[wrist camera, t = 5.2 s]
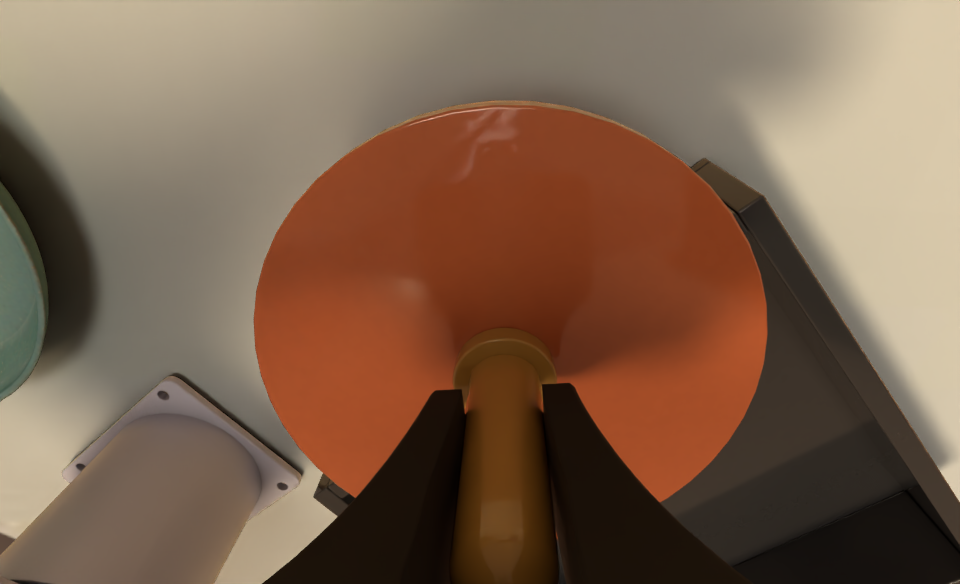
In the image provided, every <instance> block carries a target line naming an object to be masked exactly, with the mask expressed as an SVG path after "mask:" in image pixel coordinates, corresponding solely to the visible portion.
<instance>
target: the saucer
mask: <svg viewBox="0 0 960 584" xmlns="http://www.w3.org/2000/svg"><path fill="white" fill-rule="evenodd" d="M47 322H48V288H47V280H46V275H45V270H44V266H43V261H42V258H41V255H40V252H39V249H38V246H37V244H36V241H35V239H34V236H33V234H32V232H31V230H30V228H29V226H28V224H27V222H26V220H25V218H24V216H23V214H22V213H21V211H20V209H19V207H18V206H17V204H16V202H15V201H14V199H13V198H12V196H11V195H10V193H9V192H8V191H7V189H6V188H5V187H4V185H3V184H2V183H1V182H0V401H2V400H3V399H5V398H6V397H8V396H9V395H11V394H12V393H13V392H15V391H16V390H17V389H18V388H19V387H20V386H21V385H22V384H23V383H24V382H25V381H26V380H27V379H28V377H29V376H30V374H31V373H32V371H33V370H34V368H35V366H36V364H37V362H38V360H39V357H40V354H41V352H42V348H43V344H44V340H45V336H46V331H47Z"/></svg>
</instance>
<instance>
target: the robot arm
mask: <svg viewBox="0 0 960 584" xmlns="http://www.w3.org/2000/svg"><path fill="white" fill-rule="evenodd" d="M164 391H165V392H167V393H168V394H169V395H168V394H166V393H164ZM542 395H543V412H544V422H545V432H546V443H547V450H548V456H549V466H550V476H551V486H552V496H553V506H554V516H555V526H556V533H557V538H558V543H559V549H560V554H561V559H562V564H563V569H564V575H565V580H566V584H753V583H752V582H751V581H749V580H748V579H747V578H745V577H744V576H743V575H741V574H740V573H739V572H737V571H736V570H735V569H733V568H732V567H731V566H730V565H729V564H728V563H726V562H725V561H724V560H723V559H722V558H720V557H719V556H718V555H717V554H716V553H714V552H713V551H712V550H711V549H710V548H709V547H707V546H706V545H705V544H704V543H703V542H701V541H700V540H699V539H698V538H697V537H696V536H694V535H693V534H692V533H691V532H690V531H689V530H688V529H686V528H685V527H684V526H683V525H682V524H681V523H680V522H679V521H678V520H677V519H676V518H675V517H674V516H673V515H672V514H671V513H670V512H669V511H668V510H667V509H666V508H665V507H664V506H663V505H662V504H661V503H660V502H659V501H658V500H657V499H656V498H655V497H654V496H653V495H652V494H651V493H650V492H649V491H648V490H647V489H646V487H645V486H644V485H643V484H642V483H641V482H640V481H639V480H638V478H637V477H636V476H635V475H634V474H633V473H632V471H631V470H630V469H629V468H628V467H627V465H626V464H625V463H624V462H623V461H622V459H621V458H620V457H619V455H618V454H617V453H616V452H615V450H614V449H613V448H612V446H611V445H610V443H609V442H608V441H607V439H606V438H605V437H604V435H603V434H602V432H601V431H600V430H599V428H598V427H597V425H596V424H595V422H594V421H593V419H592V417H591V416H590V414H589V413H588V411H587V409H586V408H585V406H584V404H583V403H582V401H581V399H580V397H579V395H578V393H577V391H576V388H575V387H574V386H573V385H572V384H571V383H556V384H542ZM464 421H465V409H464V402H463V395H462V389H451V390H435V391H434V392H433V393H432V394H431V395H430V397H429V398H428V400H427V402H426V403H425V405H424V407H423V408H422V410H421V411H420V413H419V415H418V416H417V418H416V419H415V421H414V422H413V424H412V425H411V427H410V428H409V430H408V431H407V433H406V434H405V436H404V437H403V438H402V440H401V441H400V443H399V444H398V445H397V447H396V448H395V450H394V451H393V452H392V454H391V455H390V456H389V458H388V459H387V460H386V462H385V463H384V464H383V465H382V467H381V468H380V469H379V470H378V472H377V473H376V474H375V475H374V477H373V478H372V479H371V480H370V482H369V483H368V484H367V485H366V486H365V488H364V489H363V490H362V491H361V492H360V493H359V495H358V496H357V497H356V498H355V499H354V500H353V501H352V502H351V503H350V505H349V506H348V507H347V508H346V509H345V510H344V511H343V512H342V513H341V514H340V515H339V516H338V517H337V518H336V519H335V520H334V521H333V522H332V523H331V524H330V525H329V526H328V527H327V528H326V529H325V530H324V531H323V532H322V533H321V534H320V535H319V536H318V537H317V538H315V539H314V540H313V541H312V542H311V543H310V544H309V545H308V546H307V547H306V548H304V549H303V550H302V551H301V552H300V553H299V554H298V555H297V556H296V557H294V558H293V559H292V560H291V561H290V562H289V563H287V564H286V565H285V566H284V567H282V568H281V569H280V570H279V571H277V572H276V573H275V574H274V575H273V576H271V577H270V578H269V579H267V580H266V581H265V582H264V583H262V584H451V583H450V578H449V557H450V548H451V539H452V529H453V520H454V511H455V502H456V492H457V483H458V474H459V464H460V456H461V448H462V439H463V430H464ZM62 477H63V478H64V479H65V480H66V481H67V482H69V483H70V484H69V485H68V486H67V487H66V488H65V489H64V490H63V491H62V492H61V493H60V494H59V495H58V496H57V497H56V498H55V500H54V501H53V502H52V503H51V504H50V505H49V506H48V507H47V508H46V509H45V510H44V511H43V512H42V513H41V514H40V515H39V516H38V517H37V518H36V519H35V520H34V521H33V522H32V523H31V524H30V525H29V526H28V527H27V528H26V530H25V531H24V532H23V533H22V534H21V535H20V536H19V537H18V538H17V539H16V540H15V541H14V542H13V543H12V544H11V545H10V546H9V547H8V548H7V549H6V550H5V551H4V552H3V553H2V554H1V556H0V584H214V582H215V580H216V578H217V577H218V575H219V573H220V571H221V569H222V567H223V565H224V563H225V561H226V560H227V558H228V556H229V554H230V552H231V550H232V548H233V546H234V544H235V543H236V541H237V539H238V537H239V535H240V533H241V531H242V529H243V528H244V526H245V524H246V522H247V521H249V520H250V519H251V518H253V517H254V516H256V515H257V514H259V513H260V512H262V511H263V510H264V509H266V508H267V507H269V506H270V505H272V504H273V503H275V502H276V501H277V500H279V499H280V498H282V497H283V496H285V495H286V494H288V493H289V492H291V491H292V490H293V489H295V488H296V487H297V486H298V485H299V484H300V481H301V478H302V477H301V474H300V473H299V472H298V471H297V470H295V469H294V468H293V467H291V466H290V465H289V464H288V463H286V462H285V461H284V460H283V459H281V458H280V457H279V456H277V455H276V454H275V453H274V452H272V451H271V450H270V449H269V448H267V447H266V446H265V445H263V444H262V443H261V442H260V441H258V440H257V439H256V438H255V437H253V436H252V435H251V434H249V433H248V432H247V431H246V430H244V429H243V428H242V427H241V426H239V425H238V424H237V423H235V422H234V421H233V420H232V419H230V418H229V417H228V416H227V415H225V414H224V413H223V412H221V411H220V410H219V409H218V408H216V407H215V406H214V405H213V404H211V403H210V402H209V401H207V400H206V399H205V398H204V397H202V396H201V395H200V394H199V393H197V392H196V391H195V390H193V389H192V388H191V387H190V386H188V385H187V384H186V383H185V382H183V381H182V380H181V379H179V378H177V377H174V376H168V377H166V378H164V379H163V380H162V381H161V382H160V383H159V384H158V385H157V386H156V387H154V388H153V389H152V390H151V391H150V392H149V393H148V394H147V395H146V396H144V397H143V398H142V399H141V400H140V401H139V402H138V403H137V404H135V405H134V406H133V407H132V408H131V409H130V410H129V411H128V412H127V413H125V414H124V415H123V416H122V417H121V418H120V419H119V420H118V421H117V422H115V423H114V424H113V425H112V426H111V427H110V428H109V429H108V430H107V431H105V432H104V433H103V434H102V435H101V436H100V437H99V438H98V439H97V440H95V441H94V442H93V443H92V444H91V445H90V446H89V447H88V448H86V449H85V450H84V451H83V452H82V453H81V454H80V455H79V456H78V457H76V458H75V459H74V460H73V461H72V462H71V463H70V464H69V465H68V466H67V467H66V468H64V469H63V471H62ZM283 483H285V484H283Z"/></svg>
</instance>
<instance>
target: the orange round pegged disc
mask: <svg viewBox="0 0 960 584" xmlns="http://www.w3.org/2000/svg"><path fill="white" fill-rule="evenodd" d="M254 334H255V349H256V354H257V359H258V363H259V368H260V373H261V377H262V379H263V382H264V385H265V388H266V390H267V393H268V396H269V399H270V401H271V403H272V405H273V407H274V409H275V411H276V413H277V415H278V416H279V418H280V420H281V422H282V424H283V426H284V427H285V429H286V430H287V431H288V433H289V434H290V436H291V437H292V439H293V440H294V441H295V443H296V444H297V446H298V447H299V448H300V449H301V450H302V451H303V453H304V454H305V455H306V456H307V457H308V458H309V459H310V460H311V461H312V463H313V464H314V465H315V466H316V467H317V468H318V469H319V470H320V471H322V472H323V473H324V474H325V475H326V476H327V477H328V478H330V479H331V480H332V481H333V482H334V483H335V484H336V485H338V486H339V487H341V488H342V489H343V490H345V491H346V492H348V493H349V494H351V495H352V496H353V497H355V498H356V497H357V496H358V495H359V493H360V492H361V491H362V490H363V489H364V488H365V486H366V485H367V484H368V483H369V482H370V480H371V479H372V478H373V477H374V475H375V474H376V473H377V472H378V470H379V469H380V468H381V467H382V465H383V464H384V463H385V462H386V460H387V459H388V458H389V456H390V455H391V454H392V452H393V451H394V450H395V448H396V447H397V445H398V444H399V443H400V441H401V440H402V438H403V437H404V436H405V434H406V433H407V431H408V430H409V428H410V427H411V425H412V424H413V422H414V421H415V419H416V418H417V416H418V415H419V413H420V411H421V410H422V408H423V407H424V405H425V403H426V402H427V400H428V398H429V397H430V395H431V394H432V393H433V392H434V391H435V390H451V389H462V395H463V402H464V409H465V421H464V430H463V439H462V448H461V456H460V464H459V474H458V483H457V492H456V502H455V511H454V520H453V529H452V539H451V548H450V557H449V578H450V583H451V584H559V575H560V566H559V555H558V545H557V539H558V538H557V533H556V526H555V516H554V506H553V496H552V486H551V476H550V466H549V456H548V450H547V443H546V432H545V422H544V412H543V395H542V384H556V383H571V384H572V385H573V386H574V387H575V388H576V391H577V393H578V395H579V397H580V399H581V401H582V403H583V404H584V406H585V408H586V409H587V411H588V413H589V414H590V416H591V417H592V419H593V421H594V422H595V424H596V425H597V427H598V428H599V430H600V431H601V432H602V434H603V435H604V437H605V438H606V439H607V441H608V442H609V443H610V445H611V446H612V448H613V449H614V450H615V452H616V453H617V454H618V455H619V457H620V458H621V459H622V461H623V462H624V463H625V464H626V465H627V467H628V468H629V469H630V470H631V471H632V473H633V474H634V475H635V476H636V477H637V478H638V480H639V481H640V482H641V483H642V484H643V485H644V486H645V487H646V489H647V490H648V491H649V492H650V493H651V494H652V495H653V496H654V497H655V498H656V499H657V500H658V501H659V502H662V501H664V500H665V499H667V498H669V497H670V496H671V495H673V494H674V493H676V492H677V491H678V490H680V489H681V488H682V487H684V486H685V485H686V484H688V483H689V482H690V481H692V480H693V479H694V478H695V477H696V476H697V475H698V474H699V473H700V472H701V471H702V470H703V469H704V468H705V467H706V466H708V465H709V464H710V463H711V462H712V460H713V459H714V458H715V457H716V456H717V455H718V453H719V452H720V451H721V450H722V449H723V447H724V446H725V445H726V444H727V443H728V441H729V440H730V438H731V437H732V435H733V434H734V432H735V431H736V429H737V427H738V426H739V424H740V423H741V421H742V419H743V418H744V416H745V414H746V412H747V409H748V407H749V405H750V403H751V401H752V398H753V396H754V394H755V392H756V389H757V385H758V382H759V378H760V375H761V372H762V368H763V365H764V358H765V350H766V342H767V335H768V334H767V303H766V298H765V293H764V288H763V283H762V278H761V273H760V270H759V267H758V265H757V262H756V259H755V257H754V254H753V251H752V249H751V246H750V243H749V241H748V240H747V238H746V236H745V234H744V233H743V231H742V229H741V227H740V226H739V224H738V222H737V220H736V219H735V217H734V215H733V214H732V212H731V211H730V210H729V209H728V207H727V206H726V205H725V204H724V202H723V201H722V200H721V199H720V197H719V196H718V195H717V194H716V193H715V191H714V190H713V189H712V188H711V186H710V185H709V184H707V183H706V182H705V181H704V180H703V179H702V178H701V177H700V176H699V175H697V174H696V173H695V172H694V171H693V170H692V169H691V168H690V167H689V166H687V165H686V164H685V163H684V162H683V161H682V160H680V159H679V158H678V157H676V156H675V155H674V154H672V153H671V152H669V151H668V150H666V149H665V148H663V147H661V146H660V145H658V144H657V143H655V142H654V141H652V140H651V139H649V138H648V137H646V136H645V135H643V134H642V133H639V132H637V131H635V130H633V129H631V128H629V127H627V126H624V125H622V124H620V123H618V122H616V121H614V120H611V119H609V118H607V117H603V116H600V115H597V114H593V113H590V112H587V111H583V110H580V109H577V108H573V107H569V106H563V105H556V104H549V103H543V102H536V101H499V100H493V101H485V102H477V103H469V104H461V105H454V106H451V107H447V108H443V109H440V110H436V111H432V112H428V113H425V114H421V115H418V116H415V117H413V118H411V119H408V120H406V121H404V122H401V123H399V124H397V125H394V126H392V127H390V128H387V129H385V130H383V131H382V132H380V133H378V134H377V135H375V136H373V137H372V138H370V139H369V140H367V141H365V142H364V143H362V144H360V145H359V146H357V147H355V148H354V149H353V150H351V151H350V152H349V153H347V154H346V155H345V156H343V157H342V158H341V159H340V160H339V161H338V162H336V163H335V164H334V165H333V166H332V167H330V168H329V169H328V170H327V171H326V172H324V173H323V174H322V175H321V176H320V177H318V178H317V179H316V180H315V181H314V183H313V184H312V185H311V186H310V187H309V188H308V189H307V191H306V192H305V193H304V194H303V195H302V196H301V197H300V198H299V200H298V201H297V202H296V203H295V204H294V206H293V207H292V209H291V210H290V212H289V213H288V215H287V217H286V218H285V220H284V221H283V223H282V224H281V226H280V228H279V229H278V231H277V232H276V235H275V237H274V239H273V241H272V244H271V246H270V248H269V251H268V253H267V255H266V257H265V260H264V263H263V267H262V271H261V275H260V278H259V282H258V286H257V290H256V300H255V311H254Z"/></svg>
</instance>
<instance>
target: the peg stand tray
mask: <svg viewBox="0 0 960 584" xmlns="http://www.w3.org/2000/svg"><path fill="white" fill-rule="evenodd" d="M691 169H692V170H693V171H694V172H695V173H696V174H697V175H699V176H700V177H701V178H702V179H703V180H704V181H705V182H706V183H707V184H709V185H710V186H711V188H712V189H713V190H714V191H715V193H716V194H717V195H718V196H719V197H720V199H721V200H722V201H723V202H724V204H725V205H726V206H727V207H728V209H729V210H730V211H731V212H732V214H733V215H734V217H735V219H736V220H737V222H738V224H739V226H740V227H741V229H742V231H743V233H744V234H745V236H746V238H747V240H748V241H749V243H750V246H751V249H752V251H753V254H754V257H755V259H756V262H757V265H758V267H759V270H760V273H761V278H762V283H763V288H764V293H765V298H766V303H767V334H768V335H767V342H766V350H765V358H764V365H763V368H762V372H761V375H760V378H759V382H758V385H757V389H756V392H755V394H754V396H753V398H752V401H751V403H750V405H749V407H748V409H747V412H746V414H745V416H744V418H743V419H742V421H741V423H740V424H739V426H738V427H737V429H736V431H735V432H734V434H733V435H732V437H731V438H730V440H729V441H728V443H727V444H726V445H725V446H724V447H723V449H722V450H721V451H720V452H719V453H718V455H717V456H716V457H715V458H714V459H713V460H712V462H711V463H710V464H709V465H708V466H706V467H705V468H704V469H703V470H702V471H701V472H700V473H699V474H698V475H697V476H696V477H695V478H694V479H693V480H692V481H690V482H689V483H688V484H686V485H685V486H684V487H682V488H681V489H680V490H678V491H677V492H676V493H674V494H673V495H671V496H670V497H669V498H667V499H665V500H664V501H662V502H660V503H661V504H662V505H663V506H664V507H665V508H666V509H667V510H668V511H669V512H670V513H671V514H672V515H673V516H674V517H675V518H676V519H677V520H678V521H679V522H680V523H681V524H682V525H683V526H684V527H685V528H686V529H688V530H689V531H690V532H691V533H692V534H693V535H694V536H696V537H697V538H698V539H699V540H700V541H701V542H703V543H704V544H705V545H706V546H707V547H709V548H710V549H711V550H712V551H713V552H714V553H716V554H717V555H718V556H719V557H720V558H722V559H723V560H724V561H725V562H726V563H728V564H729V565H730V566H731V567H732V568H733V569H735V570H736V571H737V572H739V573H740V574H741V575H743V576H744V577H745V578H747V579H748V580H749V581H751V582H752V583H753V584H960V502H959V500H958V499H957V497H956V496H955V494H954V492H953V491H952V489H951V488H950V486H949V485H948V483H947V481H946V480H945V478H944V477H943V475H942V474H941V472H940V470H939V469H938V467H937V466H936V464H935V463H934V461H933V460H932V458H931V456H930V455H929V453H928V452H927V450H926V449H925V447H924V445H923V444H922V442H921V441H920V439H919V438H918V436H917V434H916V433H915V431H914V430H913V428H912V427H911V425H910V424H909V422H908V420H907V419H906V417H905V416H904V414H903V413H902V411H901V409H900V408H899V406H898V405H897V403H896V402H895V400H894V398H893V397H892V395H891V394H890V392H889V391H888V389H887V388H886V386H885V384H884V383H883V381H882V380H881V378H880V377H879V375H878V373H877V372H876V370H875V369H874V367H873V366H872V364H871V362H870V361H869V359H868V358H867V356H866V355H865V353H864V351H863V350H862V348H861V347H860V345H859V344H858V342H857V341H856V339H855V337H854V336H853V334H852V333H851V331H850V330H849V328H848V326H847V325H846V323H845V322H844V320H843V319H842V317H841V315H840V314H839V312H838V311H837V309H836V308H835V306H834V305H833V303H832V301H831V300H830V298H829V297H828V295H827V294H826V292H825V290H824V289H823V287H822V286H821V284H820V283H819V281H818V279H817V278H816V276H815V275H814V273H813V272H812V270H811V269H810V267H809V265H808V264H807V262H806V261H805V259H804V258H803V256H802V254H801V253H800V251H799V250H798V248H797V247H796V245H795V243H794V242H793V240H792V239H791V237H790V236H789V234H788V232H787V231H786V229H785V228H784V226H783V225H782V223H781V222H780V220H779V218H778V217H777V215H776V214H775V212H774V211H773V209H772V207H771V206H770V204H769V203H768V201H767V200H766V198H765V196H764V195H762V194H761V193H759V192H757V191H756V190H754V189H753V188H751V187H750V186H748V185H746V184H745V183H743V182H742V181H740V180H739V179H737V178H735V177H734V176H732V175H731V174H729V173H728V172H726V171H724V170H723V169H721V168H720V167H718V166H717V165H715V164H713V163H712V162H710V161H709V160H707V159H706V158H704V159H702V160H701V161H700V162H698V163H697V164H696V165H694V166H693V167H691ZM313 497H314V498H315V499H316V500H317V501H319V502H320V503H321V504H323V505H324V506H325V507H326V508H328V509H329V510H330V511H332V512H333V513H334V514H335V515H337V516H339V515H340V514H341V513H342V512H343V511H344V510H345V509H346V508H347V507H348V506H349V505H350V503H351V502H352V501H353V500H354V499H355V497H353V496H352V495H351V494H349V493H348V492H346V491H345V490H343V489H342V488H341V487H339V486H338V485H336V484H335V483H334V482H333V481H332V480H331V479H330V478H328V477H327V476H326V475H325V474H324V473H323V474H322V477H321V479H320V482H319V484H318V486H317V489H316V491H315V494H314V496H313ZM557 545H558V555H559V566H560V575H559V584H566V580H565V575H564V569H563V564H562V559H561V554H560V549H559V543H558V539H557Z"/></svg>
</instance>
